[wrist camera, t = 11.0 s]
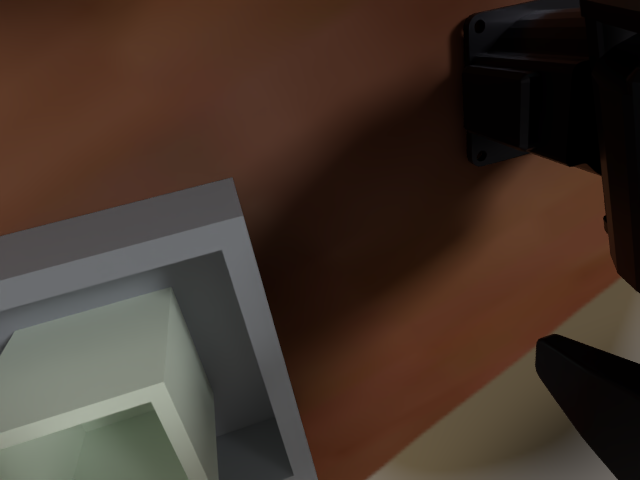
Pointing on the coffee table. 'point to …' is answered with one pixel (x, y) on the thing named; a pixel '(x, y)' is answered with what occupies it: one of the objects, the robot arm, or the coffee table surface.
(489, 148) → the robot arm
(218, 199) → the grey crate
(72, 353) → the sage crate
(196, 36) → the coffee table surface
